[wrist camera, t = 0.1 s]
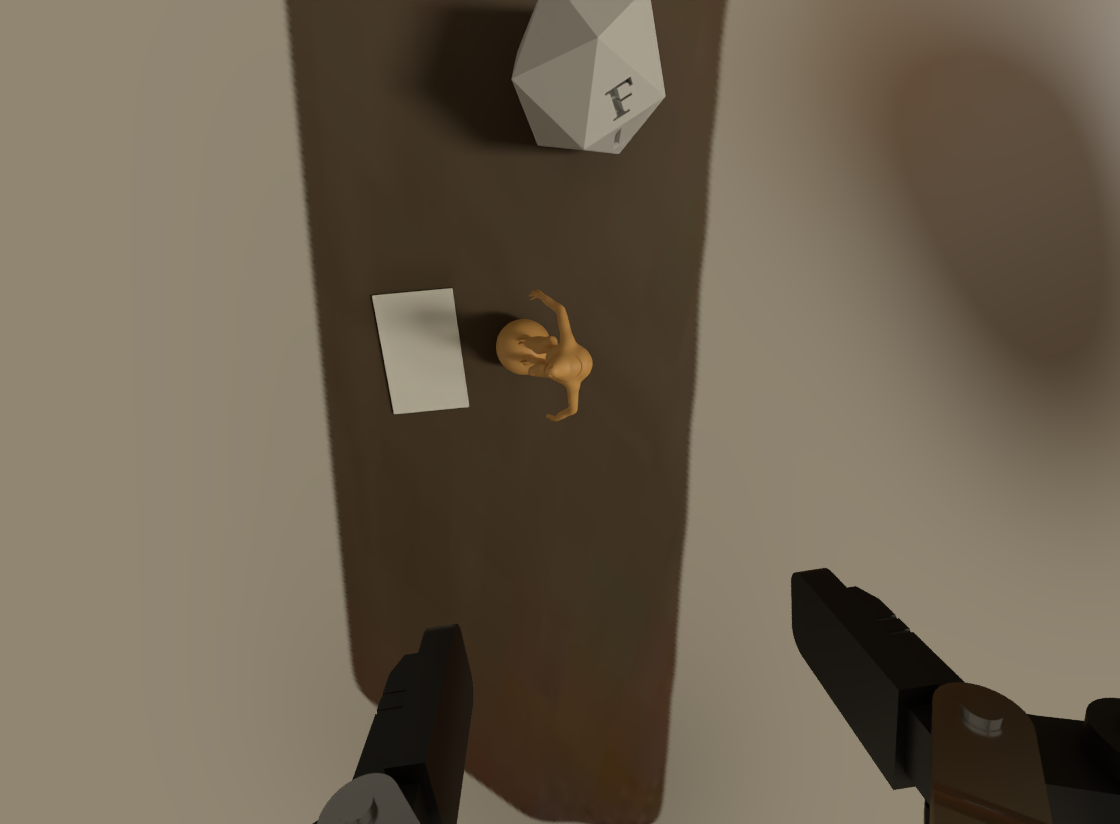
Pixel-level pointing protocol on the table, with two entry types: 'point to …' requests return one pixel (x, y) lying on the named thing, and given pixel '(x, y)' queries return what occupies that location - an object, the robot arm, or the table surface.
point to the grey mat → (421, 350)
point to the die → (588, 72)
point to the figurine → (545, 353)
